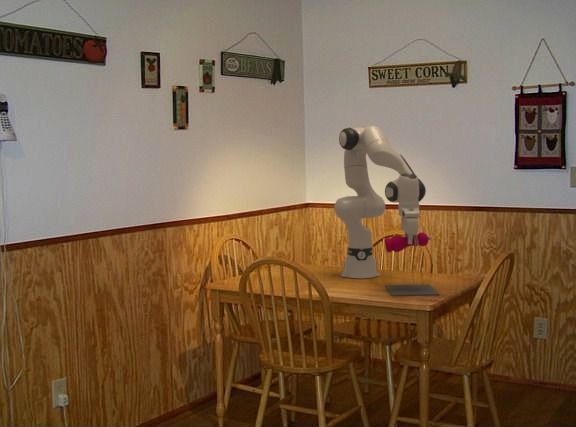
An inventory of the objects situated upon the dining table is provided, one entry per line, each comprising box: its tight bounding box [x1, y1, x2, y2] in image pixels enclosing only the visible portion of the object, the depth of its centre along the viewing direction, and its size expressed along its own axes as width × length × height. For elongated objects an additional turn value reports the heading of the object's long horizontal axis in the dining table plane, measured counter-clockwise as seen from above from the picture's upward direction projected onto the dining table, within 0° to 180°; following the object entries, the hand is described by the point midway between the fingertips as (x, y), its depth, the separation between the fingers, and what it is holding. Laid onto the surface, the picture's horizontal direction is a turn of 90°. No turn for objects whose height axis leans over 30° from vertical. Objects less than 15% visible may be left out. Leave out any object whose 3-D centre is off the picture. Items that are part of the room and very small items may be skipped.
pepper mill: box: [384, 232, 433, 253], centre depth 341 cm, size 7×7×20 cm
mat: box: [384, 283, 440, 297], centre depth 343 cm, size 22×20×1 cm
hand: (408, 243), depth 341 cm, fingers closed on pepper mill, 4 cm apart
